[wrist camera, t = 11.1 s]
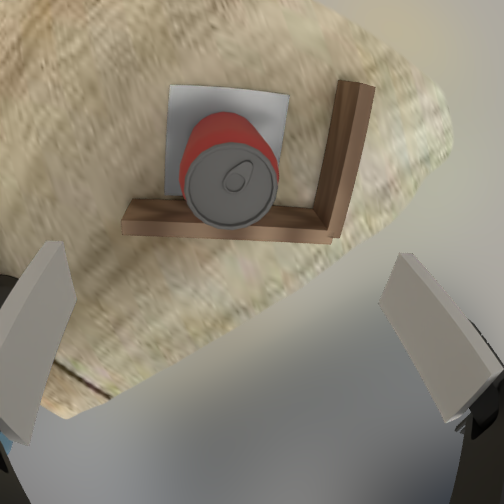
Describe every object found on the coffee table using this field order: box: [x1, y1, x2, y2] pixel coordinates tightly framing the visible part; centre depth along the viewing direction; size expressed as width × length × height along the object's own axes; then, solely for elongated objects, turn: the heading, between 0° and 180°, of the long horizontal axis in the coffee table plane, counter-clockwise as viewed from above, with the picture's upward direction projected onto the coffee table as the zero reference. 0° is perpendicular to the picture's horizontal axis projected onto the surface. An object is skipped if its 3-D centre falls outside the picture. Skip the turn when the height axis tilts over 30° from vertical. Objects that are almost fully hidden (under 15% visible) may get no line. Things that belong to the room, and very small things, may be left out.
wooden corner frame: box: [121, 80, 376, 244], centre depth 27 cm, size 21×16×5 cm
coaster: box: [165, 85, 290, 196], centre depth 28 cm, size 11×11×1 cm
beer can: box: [179, 112, 279, 230], centre depth 23 cm, size 7×7×12 cm
